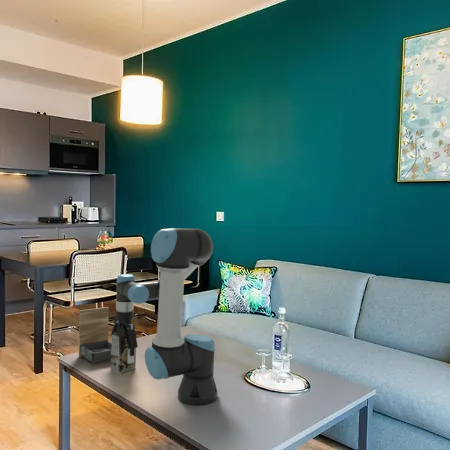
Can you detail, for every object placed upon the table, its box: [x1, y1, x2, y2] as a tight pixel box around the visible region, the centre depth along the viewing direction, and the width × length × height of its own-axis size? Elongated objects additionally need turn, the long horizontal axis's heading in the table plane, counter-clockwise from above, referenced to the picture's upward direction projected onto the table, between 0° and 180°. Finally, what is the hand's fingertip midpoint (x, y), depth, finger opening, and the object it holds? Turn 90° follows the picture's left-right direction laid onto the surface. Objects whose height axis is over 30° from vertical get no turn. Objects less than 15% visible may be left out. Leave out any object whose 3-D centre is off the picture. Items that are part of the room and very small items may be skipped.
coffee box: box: [110, 331, 137, 375], centre depth 192 cm, size 9×6×16 cm
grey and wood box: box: [78, 306, 112, 364], centre depth 203 cm, size 15×14×22 cm
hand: (123, 358), depth 192 cm, fingers open, 13 cm apart
